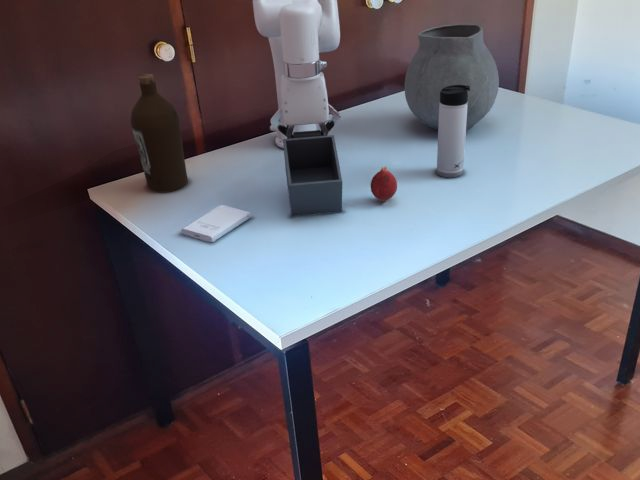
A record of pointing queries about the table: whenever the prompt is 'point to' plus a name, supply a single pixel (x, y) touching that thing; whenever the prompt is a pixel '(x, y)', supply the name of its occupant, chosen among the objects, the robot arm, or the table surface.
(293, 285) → the table surface
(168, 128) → the olive oil
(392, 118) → the table surface
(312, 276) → the table surface
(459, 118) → the travel mug
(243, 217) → the hard drive
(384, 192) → the onion
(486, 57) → the ceramic pot
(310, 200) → the grey drawer with handle
